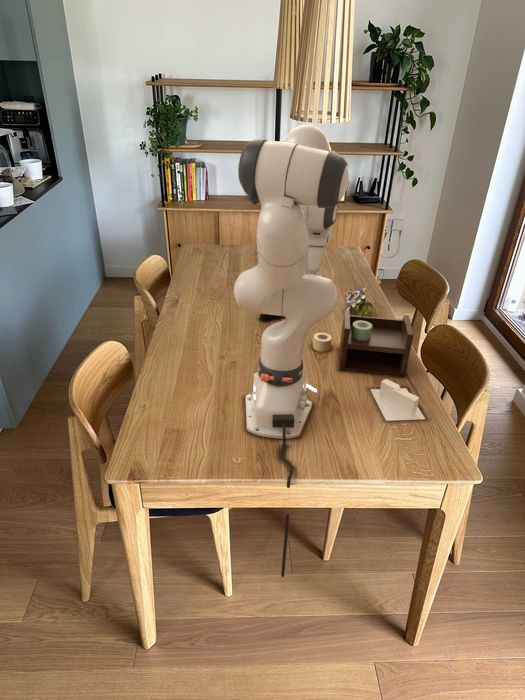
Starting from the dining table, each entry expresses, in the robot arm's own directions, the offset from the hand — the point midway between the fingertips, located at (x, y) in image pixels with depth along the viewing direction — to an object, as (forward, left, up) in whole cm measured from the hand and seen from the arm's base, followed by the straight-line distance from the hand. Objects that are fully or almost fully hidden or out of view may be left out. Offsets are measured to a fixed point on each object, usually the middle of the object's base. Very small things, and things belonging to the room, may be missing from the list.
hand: (313, 275), depth 155 cm
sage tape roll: (-7, -17, -16) cm, 24 cm away
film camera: (+23, +14, -26) cm, 38 cm away
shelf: (-6, -21, -26) cm, 34 cm away
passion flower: (+32, -18, -26) cm, 45 cm away
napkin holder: (-27, -27, -26) cm, 46 cm away
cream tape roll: (+1, -5, -26) cm, 26 cm away
